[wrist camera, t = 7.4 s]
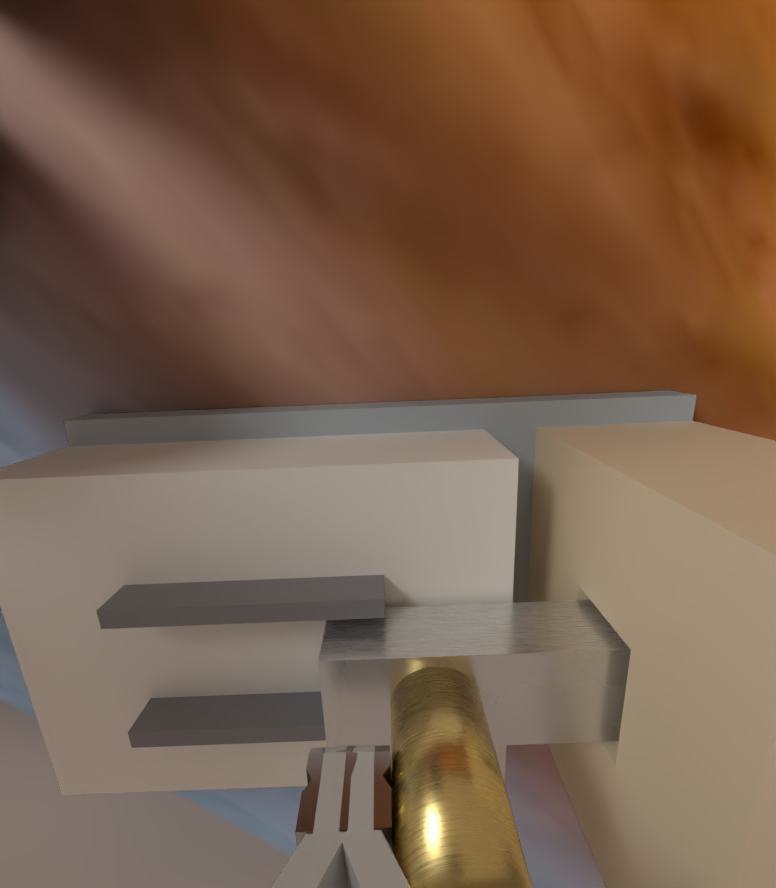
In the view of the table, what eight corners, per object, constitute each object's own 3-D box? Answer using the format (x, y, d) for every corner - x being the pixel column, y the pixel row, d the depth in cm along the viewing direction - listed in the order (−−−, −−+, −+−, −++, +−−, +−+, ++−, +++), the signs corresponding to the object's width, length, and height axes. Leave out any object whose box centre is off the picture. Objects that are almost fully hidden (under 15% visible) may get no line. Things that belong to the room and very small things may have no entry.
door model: (154, 688, 20) (-148, 1137, 8) (91, 414, 16) (-554, 563, 5) (630, 669, 20) (956, 1098, 8) (668, 390, 16) (1302, 489, 5)
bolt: (335, 690, 13) (293, 984, 7) (328, 609, 12) (274, 862, 6) (644, 678, 13) (866, 962, 7) (656, 597, 12) (917, 838, 6)
